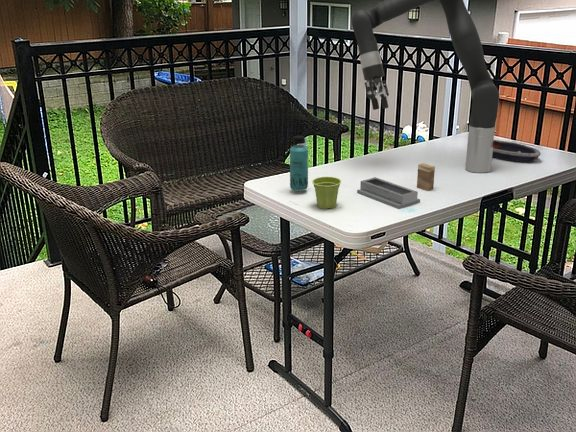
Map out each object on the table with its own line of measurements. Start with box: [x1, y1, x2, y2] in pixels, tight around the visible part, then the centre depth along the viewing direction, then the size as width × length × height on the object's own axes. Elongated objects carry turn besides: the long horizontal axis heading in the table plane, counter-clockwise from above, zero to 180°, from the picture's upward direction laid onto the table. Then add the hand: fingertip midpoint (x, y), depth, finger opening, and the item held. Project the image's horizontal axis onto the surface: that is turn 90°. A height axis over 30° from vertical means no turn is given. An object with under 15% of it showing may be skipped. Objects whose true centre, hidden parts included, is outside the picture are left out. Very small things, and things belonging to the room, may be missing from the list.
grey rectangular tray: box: [356, 176, 421, 210], centre depth 202 cm, size 10×20×4 cm, turn 36°
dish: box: [492, 139, 542, 163], centre depth 247 cm, size 16×31×5 cm, turn 38°
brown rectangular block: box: [416, 162, 436, 192], centre depth 210 cm, size 3×5×8 cm, turn 36°
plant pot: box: [311, 176, 342, 210], centre depth 195 cm, size 9×9×9 cm
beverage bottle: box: [289, 135, 309, 191], centre depth 207 cm, size 6×7×20 cm
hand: (381, 108), depth 222 cm, fingers open, 8 cm apart
